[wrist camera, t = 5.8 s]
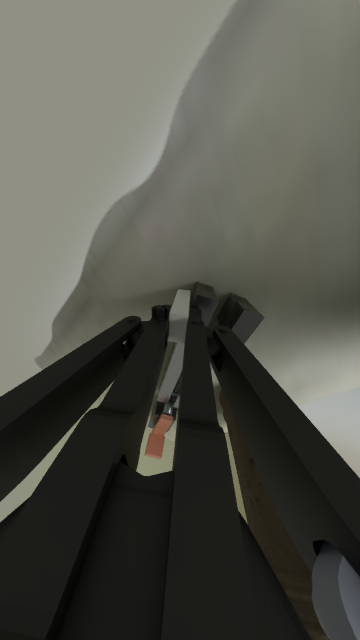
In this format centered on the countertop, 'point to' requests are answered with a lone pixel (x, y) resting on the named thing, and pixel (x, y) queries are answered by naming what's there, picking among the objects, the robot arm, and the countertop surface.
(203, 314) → the tong arm
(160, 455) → the lock tab
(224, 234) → the countertop surface
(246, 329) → the tongs base
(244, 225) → the countertop surface
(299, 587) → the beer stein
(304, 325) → the countertop surface
